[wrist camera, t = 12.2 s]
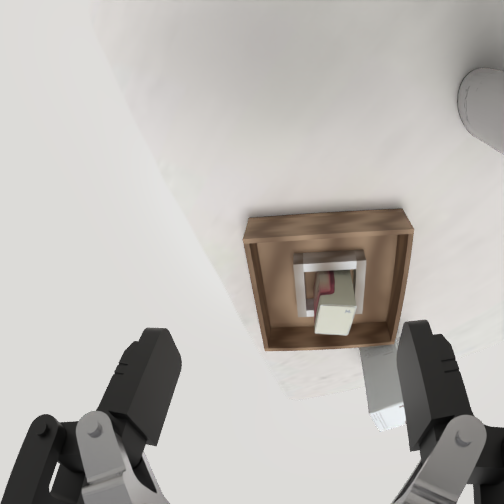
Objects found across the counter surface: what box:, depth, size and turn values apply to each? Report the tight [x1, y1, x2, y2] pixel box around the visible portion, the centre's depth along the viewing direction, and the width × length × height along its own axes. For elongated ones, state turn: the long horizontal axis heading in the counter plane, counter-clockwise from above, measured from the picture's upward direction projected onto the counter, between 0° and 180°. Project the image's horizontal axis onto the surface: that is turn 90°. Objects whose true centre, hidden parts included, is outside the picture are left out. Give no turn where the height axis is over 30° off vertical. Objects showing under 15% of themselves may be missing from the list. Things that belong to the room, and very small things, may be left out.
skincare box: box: [359, 339, 407, 432], centre depth 43 cm, size 8×6×15 cm
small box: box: [314, 269, 357, 336], centre depth 39 cm, size 5×4×8 cm
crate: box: [243, 209, 414, 351], centre depth 41 cm, size 19×19×5 cm
